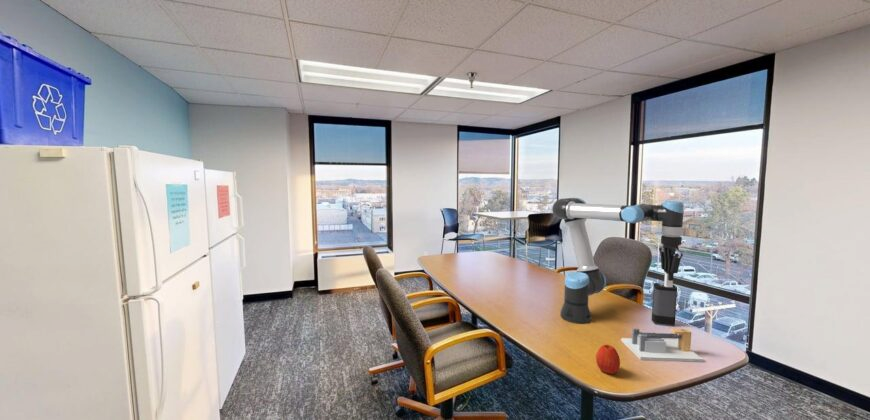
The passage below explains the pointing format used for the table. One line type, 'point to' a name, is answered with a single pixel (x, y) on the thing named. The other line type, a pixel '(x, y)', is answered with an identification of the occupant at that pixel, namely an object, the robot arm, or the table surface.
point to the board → (664, 356)
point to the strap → (660, 335)
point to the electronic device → (664, 305)
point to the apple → (608, 359)
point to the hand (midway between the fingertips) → (668, 286)
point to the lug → (683, 338)
